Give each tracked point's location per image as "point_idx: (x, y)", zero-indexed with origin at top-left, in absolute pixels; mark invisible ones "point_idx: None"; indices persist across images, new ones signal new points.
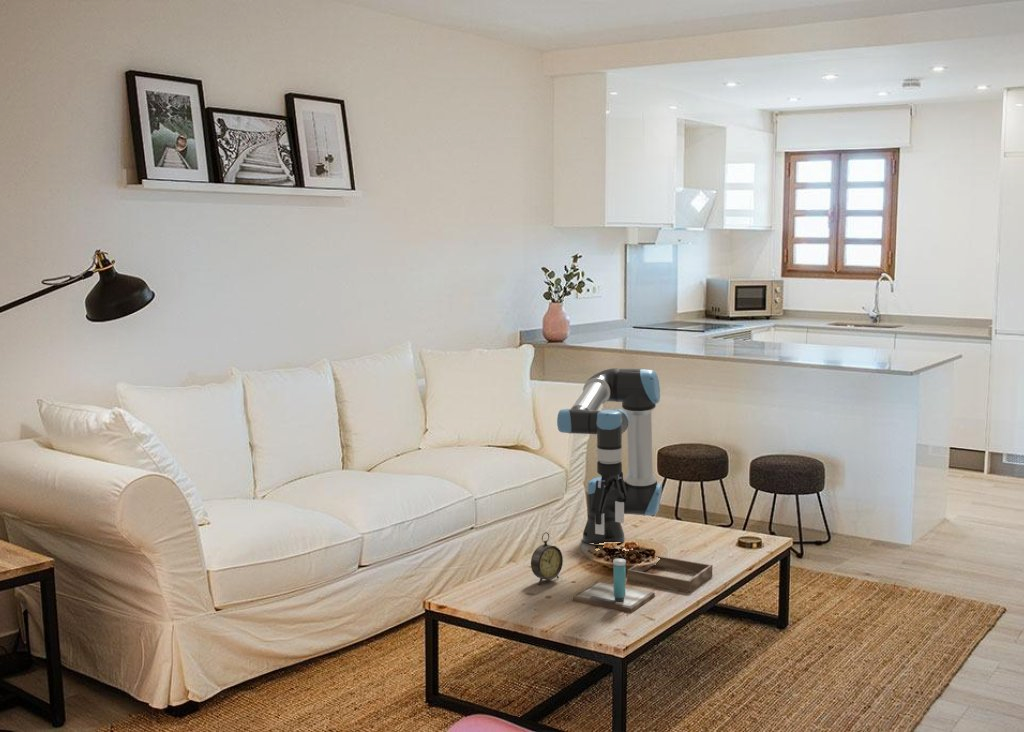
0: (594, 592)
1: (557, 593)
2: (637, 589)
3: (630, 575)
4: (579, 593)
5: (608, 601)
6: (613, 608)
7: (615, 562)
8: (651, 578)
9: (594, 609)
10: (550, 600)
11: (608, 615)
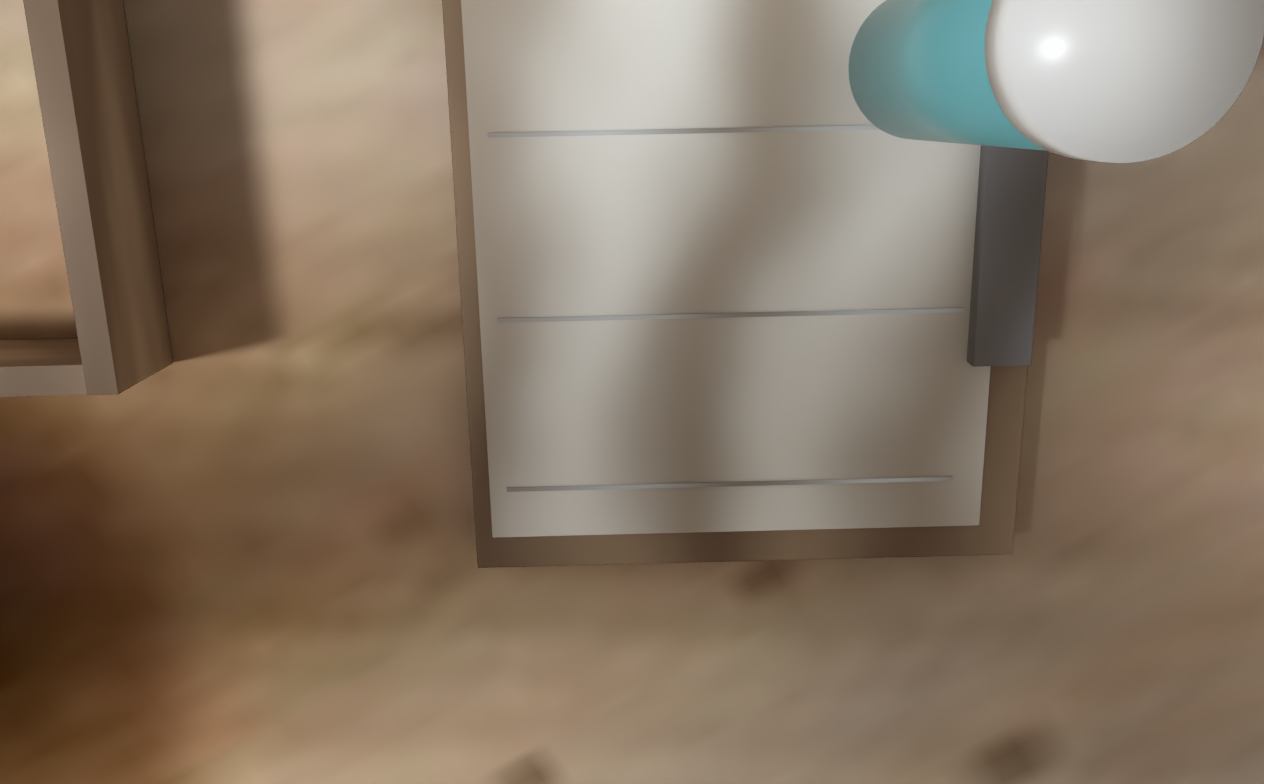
0: (806, 425)
1: (892, 739)
2: (453, 67)
3: (137, 335)
4: (898, 540)
5: None
6: None
7: (1251, 56)
8: (89, 49)
9: (1135, 231)
10: (1091, 698)
11: None
